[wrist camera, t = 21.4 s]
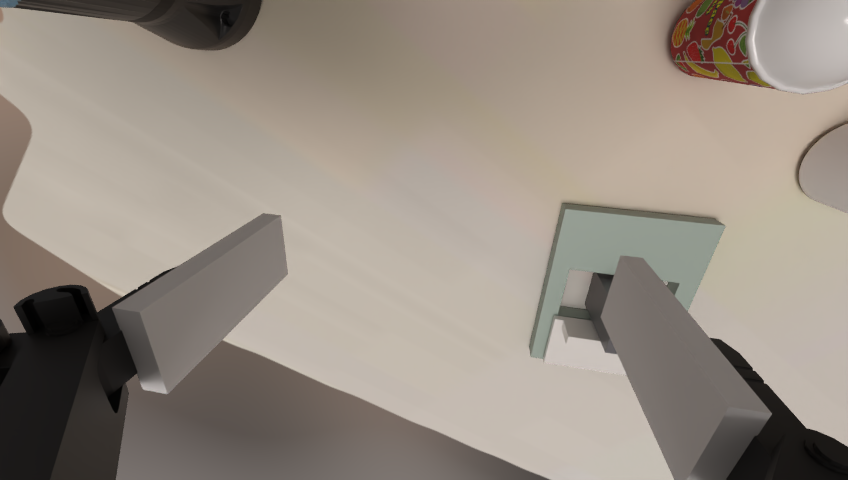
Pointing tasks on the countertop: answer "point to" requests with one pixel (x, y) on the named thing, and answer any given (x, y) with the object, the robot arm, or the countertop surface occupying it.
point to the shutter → (579, 347)
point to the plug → (600, 307)
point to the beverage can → (827, 170)
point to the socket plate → (629, 236)
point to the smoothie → (765, 43)
